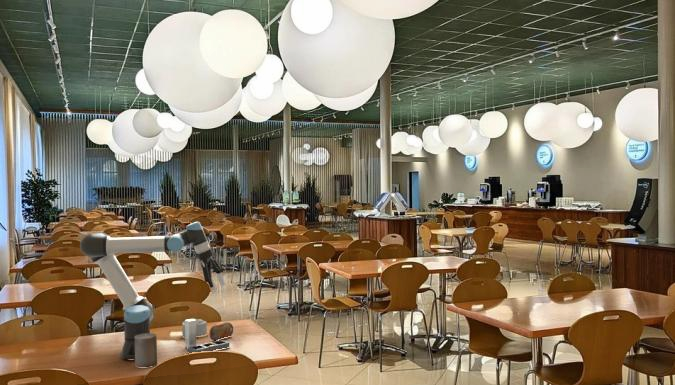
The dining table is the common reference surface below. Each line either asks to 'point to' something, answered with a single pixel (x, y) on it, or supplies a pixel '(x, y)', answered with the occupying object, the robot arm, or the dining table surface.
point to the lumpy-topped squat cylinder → (197, 327)
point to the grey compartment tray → (209, 346)
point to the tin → (221, 331)
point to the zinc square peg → (190, 332)
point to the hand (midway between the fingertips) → (219, 288)
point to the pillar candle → (145, 350)
